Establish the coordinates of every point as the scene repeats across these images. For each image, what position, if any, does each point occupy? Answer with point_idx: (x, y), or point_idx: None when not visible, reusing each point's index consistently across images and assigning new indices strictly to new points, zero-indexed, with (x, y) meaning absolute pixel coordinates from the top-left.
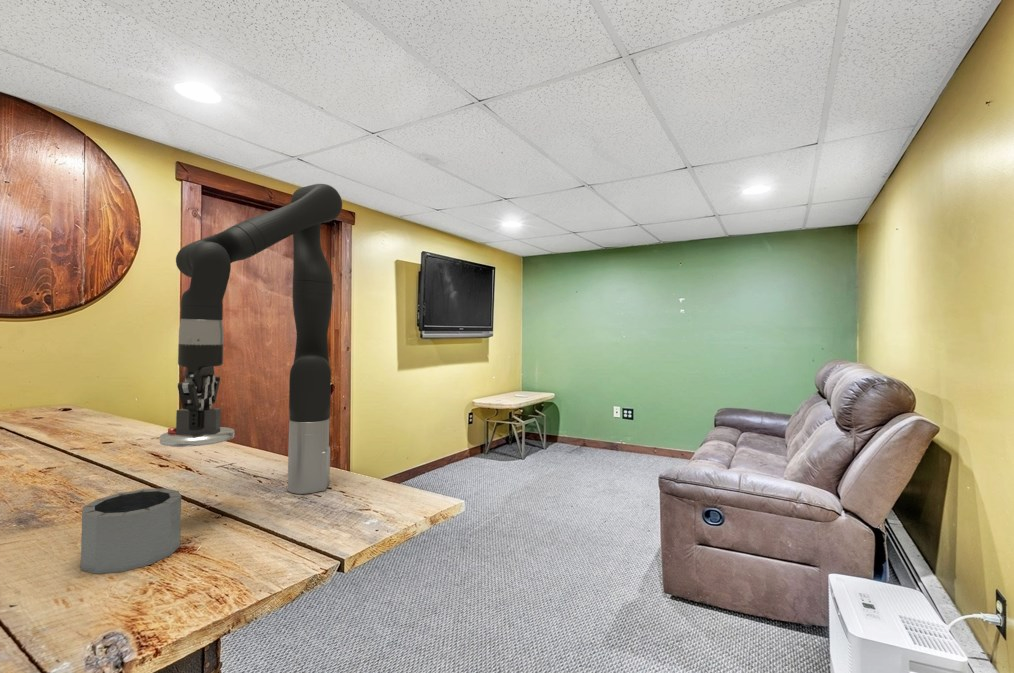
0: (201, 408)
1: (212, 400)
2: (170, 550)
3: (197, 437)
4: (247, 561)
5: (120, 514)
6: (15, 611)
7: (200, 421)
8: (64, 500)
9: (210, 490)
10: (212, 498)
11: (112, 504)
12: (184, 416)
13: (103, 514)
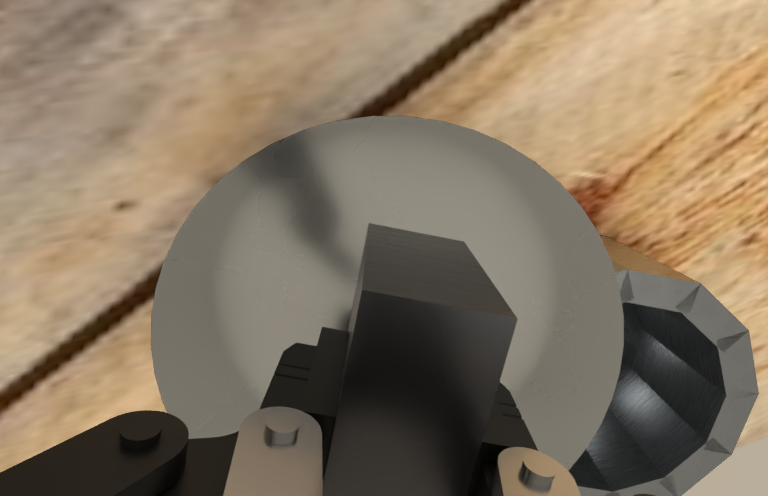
0: (550, 475)
1: (180, 458)
2: (613, 239)
3: (548, 337)
4: (749, 25)
5: (743, 401)
6: (741, 438)
7: None
8: None
9: (59, 237)
10: (155, 214)
11: None
12: None
13: (714, 445)
